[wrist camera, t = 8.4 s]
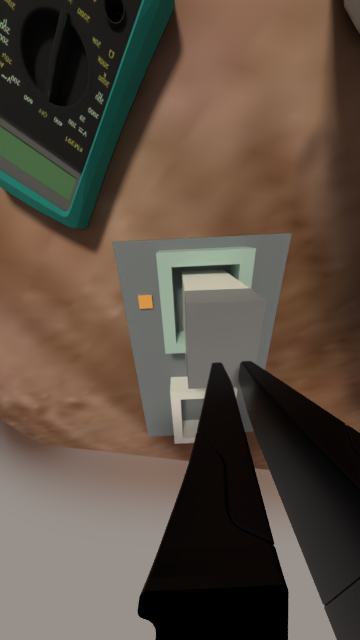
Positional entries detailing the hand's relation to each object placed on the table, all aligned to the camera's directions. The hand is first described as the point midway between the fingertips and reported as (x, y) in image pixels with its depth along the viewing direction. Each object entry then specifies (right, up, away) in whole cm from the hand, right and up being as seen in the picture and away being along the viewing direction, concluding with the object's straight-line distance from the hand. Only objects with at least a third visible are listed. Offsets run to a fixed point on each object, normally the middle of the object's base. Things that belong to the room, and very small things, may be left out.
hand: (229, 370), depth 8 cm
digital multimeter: (-9, +17, +5) cm, 20 cm away
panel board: (0, -2, +13) cm, 13 cm away
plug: (0, +4, +9) cm, 10 cm away
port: (0, +4, +9) cm, 10 cm away
